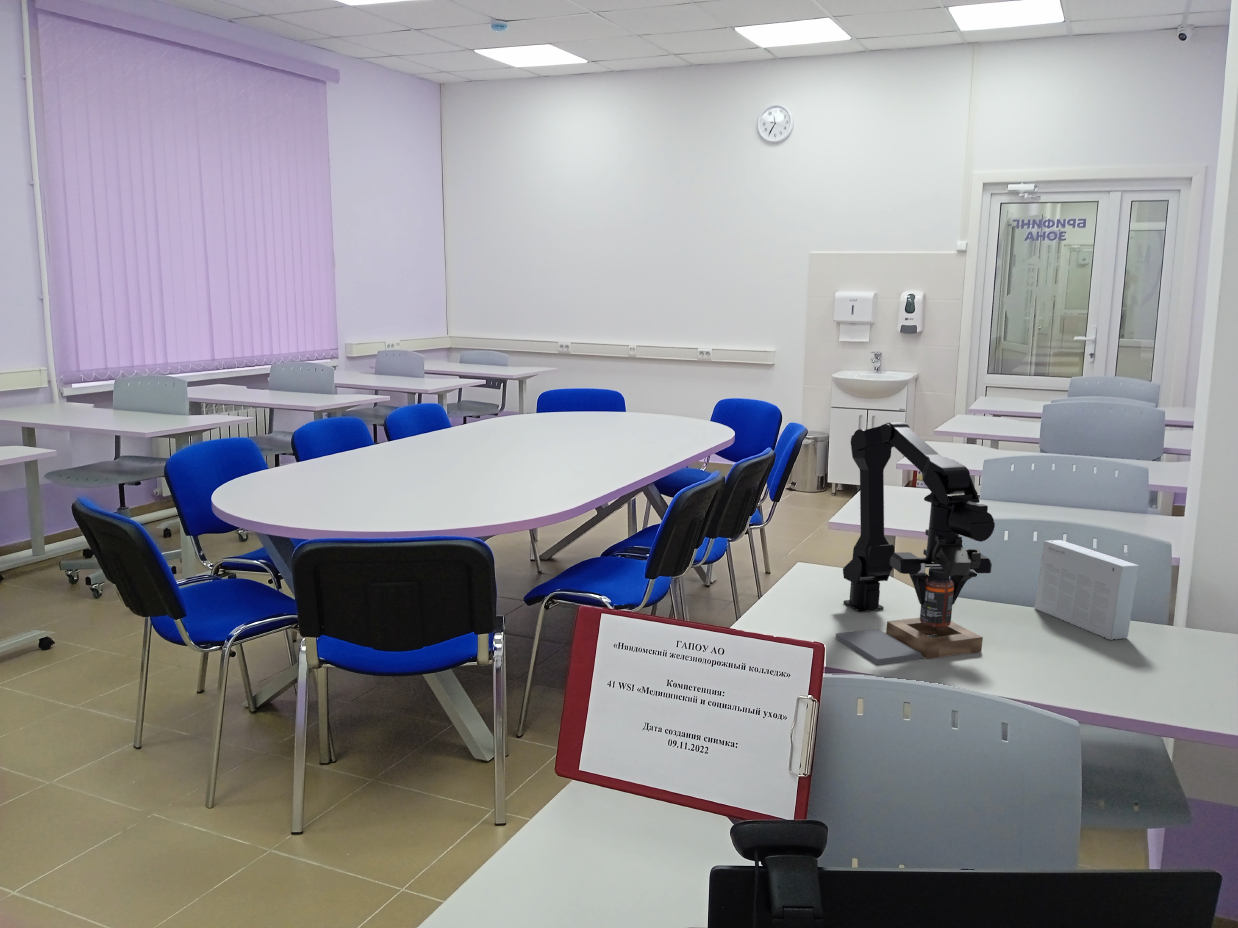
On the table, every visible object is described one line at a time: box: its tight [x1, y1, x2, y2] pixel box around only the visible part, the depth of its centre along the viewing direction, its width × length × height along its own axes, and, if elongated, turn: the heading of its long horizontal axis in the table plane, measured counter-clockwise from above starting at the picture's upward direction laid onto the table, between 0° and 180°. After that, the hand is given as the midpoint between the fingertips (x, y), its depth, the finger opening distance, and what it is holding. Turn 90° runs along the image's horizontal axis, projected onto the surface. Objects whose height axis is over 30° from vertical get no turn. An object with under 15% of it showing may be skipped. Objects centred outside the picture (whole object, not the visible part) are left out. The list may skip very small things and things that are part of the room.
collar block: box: [885, 616, 984, 660], centre depth 196 cm, size 13×13×3 cm
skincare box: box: [1034, 539, 1140, 641], centre depth 209 cm, size 21×5×16 cm, turn 22°
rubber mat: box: [835, 628, 922, 665], centre depth 192 cm, size 14×10×1 cm
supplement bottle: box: [919, 567, 954, 628], centre depth 194 cm, size 6×6×11 cm
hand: (936, 604), depth 194 cm, fingers closed on supplement bottle, 6 cm apart
